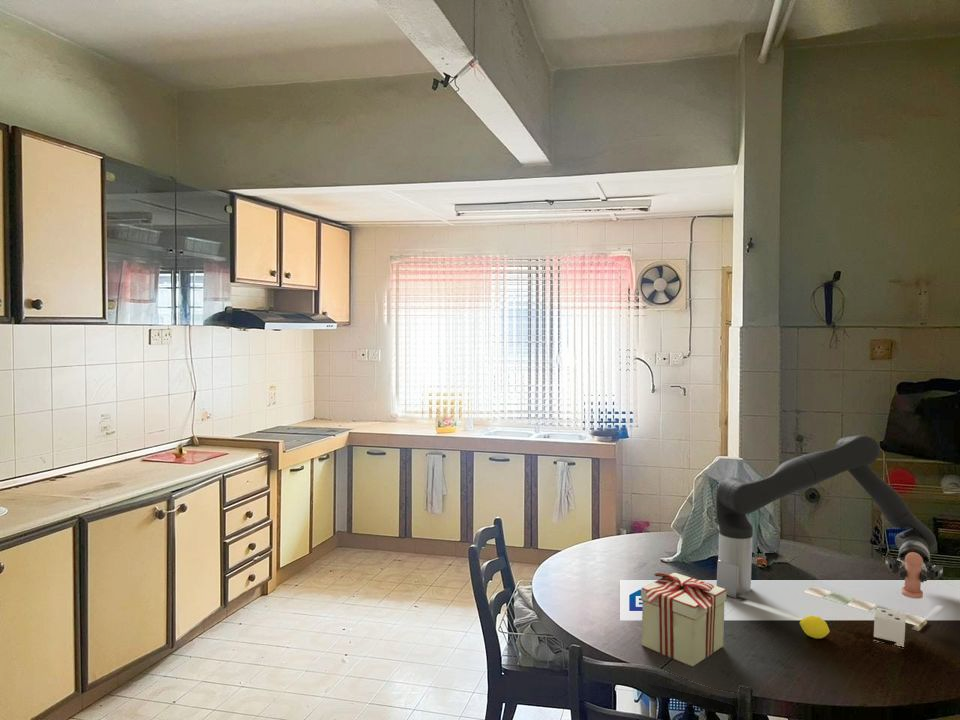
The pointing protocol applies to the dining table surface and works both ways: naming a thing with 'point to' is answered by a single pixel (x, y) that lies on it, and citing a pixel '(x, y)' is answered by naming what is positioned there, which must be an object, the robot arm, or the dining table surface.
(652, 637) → the gift box
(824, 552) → the dining table surface
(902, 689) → the dining table surface
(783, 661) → the dining table surface
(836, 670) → the dining table surface
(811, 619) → the lemon
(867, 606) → the board
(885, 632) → the die
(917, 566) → the pawn
